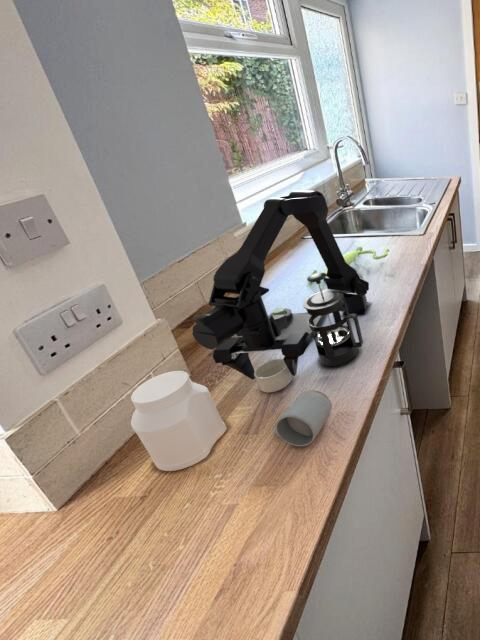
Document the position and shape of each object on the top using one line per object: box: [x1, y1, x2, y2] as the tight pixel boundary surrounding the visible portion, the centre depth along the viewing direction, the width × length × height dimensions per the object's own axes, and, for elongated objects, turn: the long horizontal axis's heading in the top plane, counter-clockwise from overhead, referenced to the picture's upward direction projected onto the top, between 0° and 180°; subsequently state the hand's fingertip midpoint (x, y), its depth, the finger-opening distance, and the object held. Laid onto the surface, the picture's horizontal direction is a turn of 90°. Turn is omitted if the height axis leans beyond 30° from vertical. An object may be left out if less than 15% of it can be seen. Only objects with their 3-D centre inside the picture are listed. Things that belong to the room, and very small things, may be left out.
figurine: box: [311, 246, 390, 275], centre depth 144 cm, size 18×27×6 cm
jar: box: [130, 370, 227, 472], centre depth 76 cm, size 12×10×15 cm
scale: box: [268, 308, 327, 340], centre depth 113 cm, size 15×14×3 cm
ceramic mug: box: [272, 389, 333, 447], centre depth 79 cm, size 11×8×8 cm
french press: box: [302, 272, 364, 370], centre depth 97 cm, size 12×9×23 cm
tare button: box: [272, 306, 286, 315], centre depth 115 cm, size 3×3×2 cm
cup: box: [254, 357, 293, 393], centre depth 93 cm, size 7×7×4 cm
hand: (274, 376), depth 93 cm, fingers open, 9 cm apart
